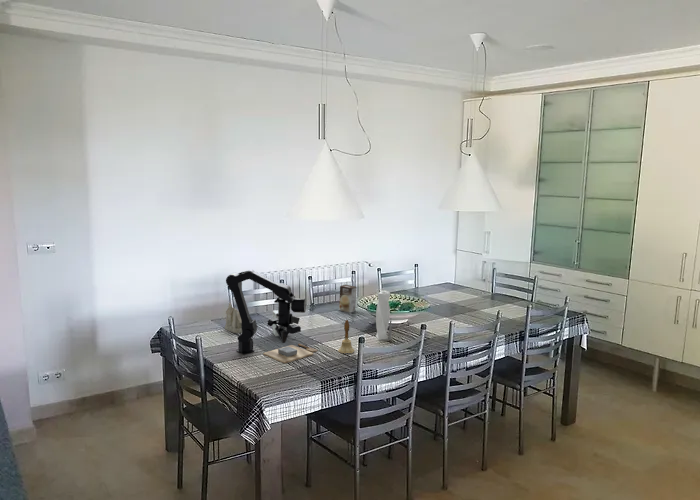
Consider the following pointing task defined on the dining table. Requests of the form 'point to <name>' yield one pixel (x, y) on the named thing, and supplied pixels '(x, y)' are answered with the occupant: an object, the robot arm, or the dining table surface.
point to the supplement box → (274, 324)
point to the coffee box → (347, 298)
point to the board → (284, 359)
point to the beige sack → (233, 320)
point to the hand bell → (346, 341)
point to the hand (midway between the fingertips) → (283, 342)
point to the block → (287, 351)
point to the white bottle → (383, 316)
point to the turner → (308, 348)
